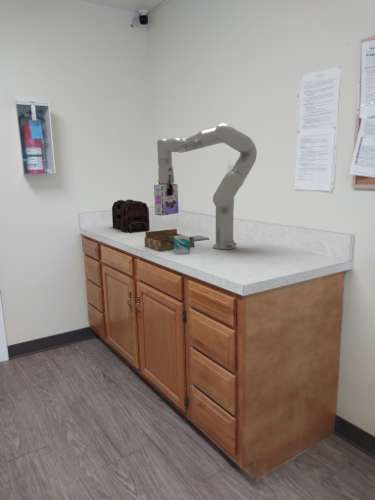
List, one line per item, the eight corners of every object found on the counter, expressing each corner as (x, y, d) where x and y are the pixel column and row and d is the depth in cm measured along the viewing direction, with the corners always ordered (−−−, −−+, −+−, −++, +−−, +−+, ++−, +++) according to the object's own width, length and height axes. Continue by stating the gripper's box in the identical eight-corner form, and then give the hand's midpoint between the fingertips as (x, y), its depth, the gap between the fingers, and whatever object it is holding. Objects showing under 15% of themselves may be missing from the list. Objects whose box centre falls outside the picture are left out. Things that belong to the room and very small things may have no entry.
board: (209, 239, 242) (209, 237, 242) (182, 242, 233) (182, 241, 232) (199, 237, 252) (199, 235, 251) (173, 240, 242) (173, 238, 242)
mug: (177, 254, 201) (177, 238, 199) (169, 250, 212) (168, 235, 210) (192, 253, 204) (192, 237, 202) (183, 249, 215) (182, 233, 213)
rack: (194, 246, 221) (194, 232, 219) (159, 251, 210) (159, 236, 208) (177, 242, 236) (177, 228, 234) (144, 246, 225) (144, 232, 223)
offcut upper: (183, 242, 217) (183, 235, 217) (170, 243, 213) (170, 237, 213) (180, 241, 220) (180, 235, 219) (167, 242, 216) (167, 236, 215)
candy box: (162, 215, 214) (161, 184, 211) (154, 215, 217) (153, 184, 214) (179, 213, 225) (178, 183, 221) (171, 212, 228) (169, 183, 225)
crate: (111, 227, 302) (109, 200, 297) (134, 225, 310) (133, 198, 306) (126, 233, 271) (124, 203, 267) (152, 231, 280) (151, 201, 276)
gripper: (179, 161, 210) (180, 195, 214) (163, 163, 225) (164, 194, 228) (166, 162, 206) (167, 196, 210) (151, 163, 221) (153, 195, 224)
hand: (166, 195), depth 219 cm, fingers closed on candy box, 7 cm apart
